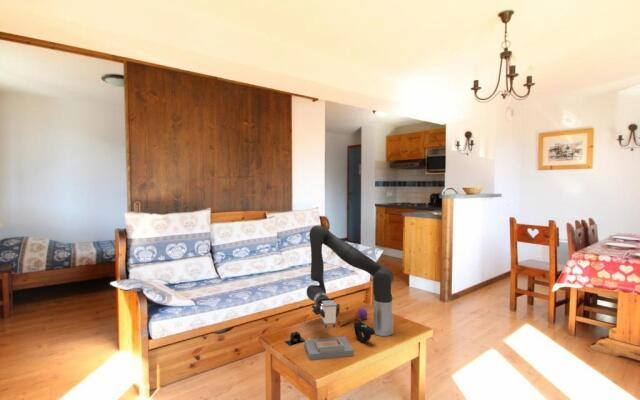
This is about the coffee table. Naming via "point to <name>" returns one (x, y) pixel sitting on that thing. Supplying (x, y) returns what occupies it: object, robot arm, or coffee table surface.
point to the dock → (328, 348)
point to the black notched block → (295, 339)
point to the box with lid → (329, 313)
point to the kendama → (354, 317)
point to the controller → (363, 331)
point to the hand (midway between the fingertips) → (330, 315)
